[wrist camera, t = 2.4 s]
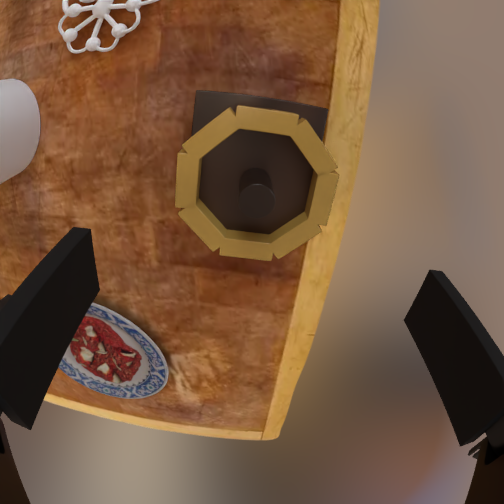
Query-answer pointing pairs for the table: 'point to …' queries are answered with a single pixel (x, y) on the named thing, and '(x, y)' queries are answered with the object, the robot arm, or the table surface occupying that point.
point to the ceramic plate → (114, 356)
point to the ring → (251, 242)
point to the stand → (254, 166)
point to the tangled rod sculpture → (99, 21)
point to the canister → (17, 127)
